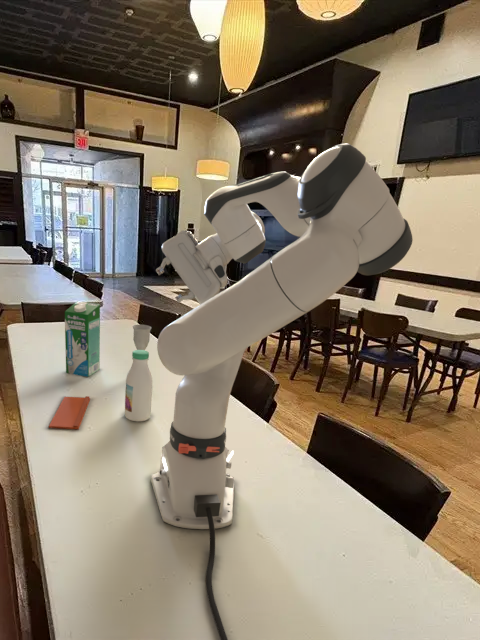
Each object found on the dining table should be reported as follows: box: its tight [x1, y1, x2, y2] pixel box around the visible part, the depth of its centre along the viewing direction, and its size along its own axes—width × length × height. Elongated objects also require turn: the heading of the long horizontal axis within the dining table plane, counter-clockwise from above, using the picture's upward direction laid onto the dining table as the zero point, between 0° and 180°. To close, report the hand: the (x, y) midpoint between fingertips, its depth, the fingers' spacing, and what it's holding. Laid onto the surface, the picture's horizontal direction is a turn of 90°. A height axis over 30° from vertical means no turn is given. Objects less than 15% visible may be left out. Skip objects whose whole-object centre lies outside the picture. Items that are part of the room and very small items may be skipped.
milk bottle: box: [124, 349, 153, 422], centre depth 118 cm, size 8×8×20 cm
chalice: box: [132, 324, 152, 351], centre depth 152 cm, size 7×7×18 cm
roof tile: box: [48, 395, 91, 430], centre depth 121 cm, size 20×8×1 cm, turn 2°
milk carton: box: [64, 300, 101, 378], centre depth 149 cm, size 9×9×25 cm
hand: (167, 286), depth 113 cm, fingers open, 8 cm apart
